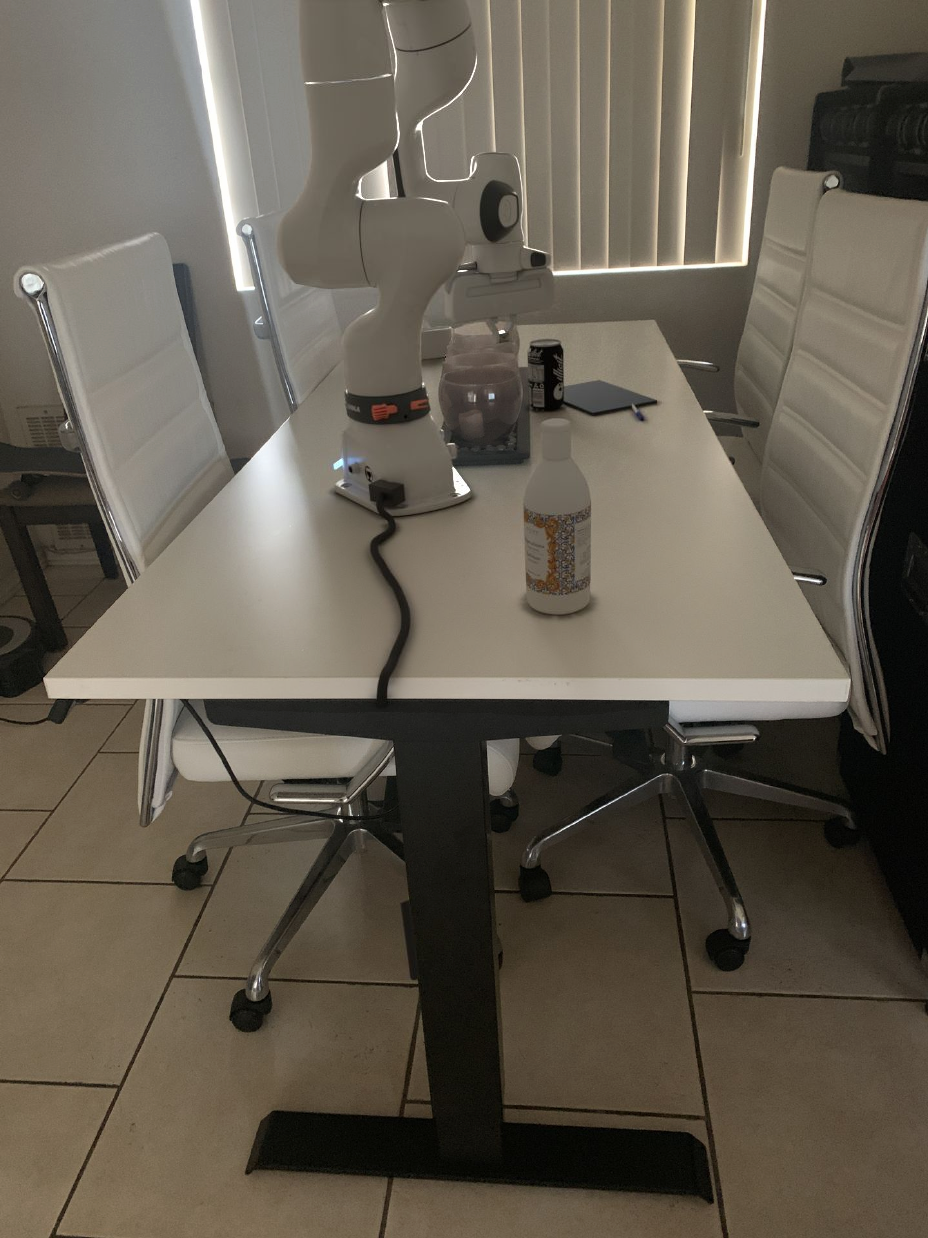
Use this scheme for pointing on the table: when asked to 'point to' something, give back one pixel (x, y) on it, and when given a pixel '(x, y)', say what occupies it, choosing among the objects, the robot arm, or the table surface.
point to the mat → (602, 397)
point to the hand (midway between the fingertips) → (502, 342)
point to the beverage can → (546, 374)
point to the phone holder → (434, 340)
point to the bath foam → (557, 527)
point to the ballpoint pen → (637, 413)
